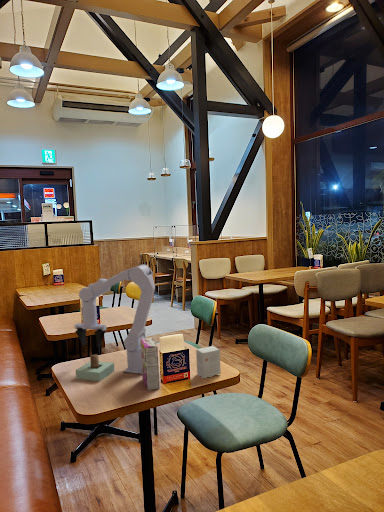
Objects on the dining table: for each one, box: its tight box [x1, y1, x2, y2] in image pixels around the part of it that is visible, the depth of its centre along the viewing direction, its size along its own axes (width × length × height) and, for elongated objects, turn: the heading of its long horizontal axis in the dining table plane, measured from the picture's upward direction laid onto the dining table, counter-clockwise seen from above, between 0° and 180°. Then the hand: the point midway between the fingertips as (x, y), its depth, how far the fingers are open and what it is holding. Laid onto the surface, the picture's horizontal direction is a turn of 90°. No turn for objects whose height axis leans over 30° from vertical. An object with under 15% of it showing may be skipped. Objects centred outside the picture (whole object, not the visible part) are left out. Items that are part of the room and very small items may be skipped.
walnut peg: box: [89, 354, 100, 369], centre depth 154 cm, size 3×3×8 cm
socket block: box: [75, 360, 115, 382], centre depth 155 cm, size 11×11×4 cm
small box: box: [195, 345, 221, 379], centre depth 150 cm, size 8×6×10 cm
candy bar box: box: [140, 337, 160, 391], centre depth 143 cm, size 11×5×16 cm, turn 17°
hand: (91, 345), depth 163 cm, fingers open, 7 cm apart
